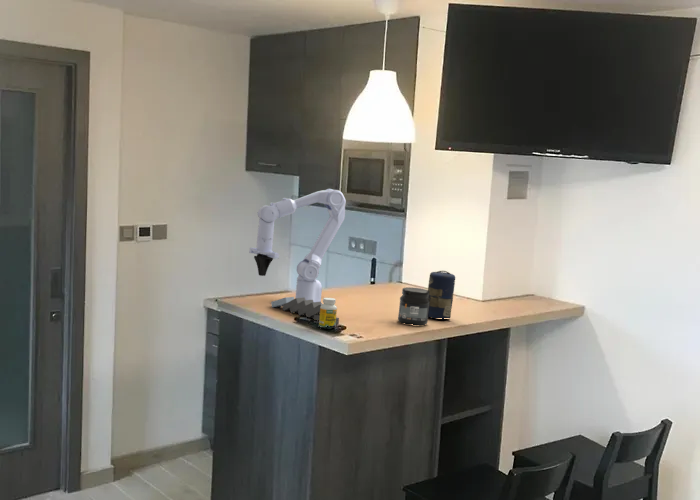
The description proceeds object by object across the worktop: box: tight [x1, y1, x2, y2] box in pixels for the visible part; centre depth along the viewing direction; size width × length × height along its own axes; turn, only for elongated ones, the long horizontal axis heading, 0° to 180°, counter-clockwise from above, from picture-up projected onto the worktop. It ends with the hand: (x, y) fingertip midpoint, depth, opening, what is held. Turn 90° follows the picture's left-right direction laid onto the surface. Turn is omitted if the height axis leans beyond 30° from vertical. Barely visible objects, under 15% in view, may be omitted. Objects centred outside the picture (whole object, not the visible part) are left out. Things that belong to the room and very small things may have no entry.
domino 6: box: [312, 314, 340, 325], centre depth 254 cm, size 2×4×8 cm
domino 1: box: [270, 296, 295, 308], centre depth 270 cm, size 2×4×8 cm
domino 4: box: [298, 301, 322, 316], centre depth 260 cm, size 2×4×8 cm
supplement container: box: [397, 286, 430, 326], centre depth 267 cm, size 10×10×12 cm
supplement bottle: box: [318, 297, 338, 327], centre depth 245 cm, size 5×5×10 cm
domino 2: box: [281, 297, 305, 312], centre depth 266 cm, size 2×4×8 cm
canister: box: [427, 270, 456, 319], centre depth 280 cm, size 10×10×18 cm
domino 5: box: [305, 303, 323, 319], centre depth 257 cm, size 2×4×8 cm
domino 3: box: [289, 300, 313, 314], centre depth 263 cm, size 2×4×8 cm
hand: (262, 275), depth 278 cm, fingers closed
